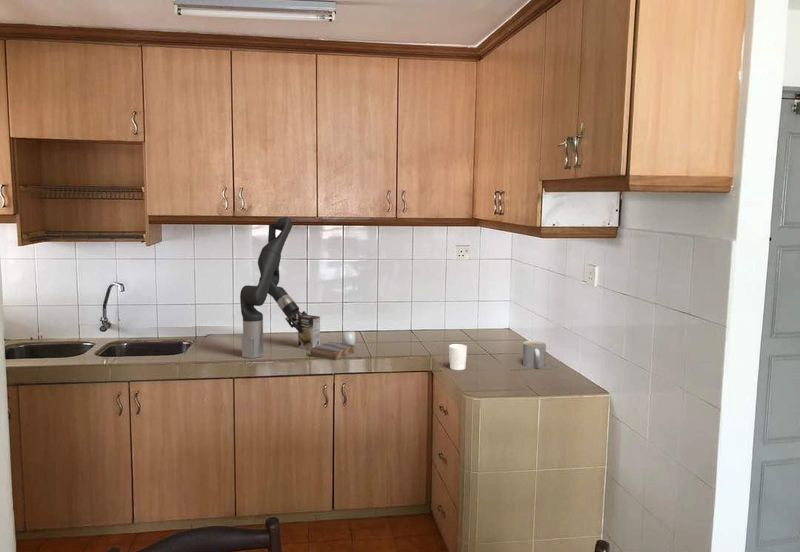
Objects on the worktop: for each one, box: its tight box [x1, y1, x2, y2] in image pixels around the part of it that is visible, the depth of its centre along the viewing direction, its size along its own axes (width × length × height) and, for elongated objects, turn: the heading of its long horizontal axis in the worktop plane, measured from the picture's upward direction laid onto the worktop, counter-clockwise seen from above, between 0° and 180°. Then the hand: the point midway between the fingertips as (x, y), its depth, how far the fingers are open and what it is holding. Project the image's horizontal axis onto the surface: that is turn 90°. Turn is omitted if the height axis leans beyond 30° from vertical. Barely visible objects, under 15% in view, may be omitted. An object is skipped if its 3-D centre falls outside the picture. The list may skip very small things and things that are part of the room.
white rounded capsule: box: [342, 330, 356, 350], centre depth 320 cm, size 6×6×8 cm
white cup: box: [448, 343, 468, 371], centre depth 285 cm, size 8×8×10 cm
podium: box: [310, 341, 355, 361], centre depth 307 cm, size 16×14×4 cm
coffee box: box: [297, 314, 321, 351], centre depth 319 cm, size 9×6×16 cm
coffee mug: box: [522, 340, 547, 369], centre depth 290 cm, size 13×10×10 cm
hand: (307, 330), depth 319 cm, fingers open, 8 cm apart
